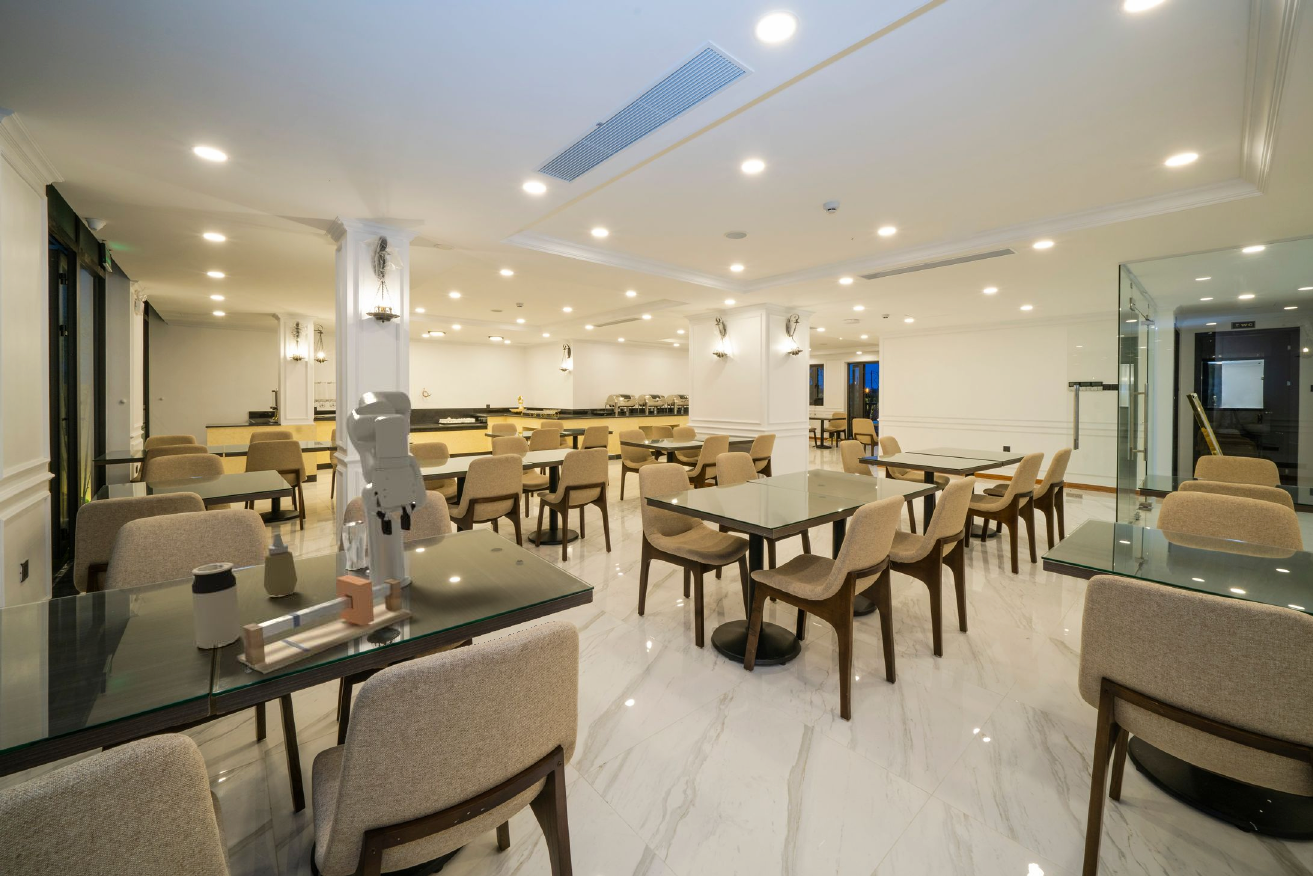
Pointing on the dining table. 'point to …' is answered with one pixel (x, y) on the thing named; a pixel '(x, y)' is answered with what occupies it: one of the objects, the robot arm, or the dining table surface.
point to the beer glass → (354, 544)
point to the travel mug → (215, 604)
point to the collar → (356, 599)
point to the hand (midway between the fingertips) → (396, 531)
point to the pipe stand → (318, 628)
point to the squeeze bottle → (279, 569)
